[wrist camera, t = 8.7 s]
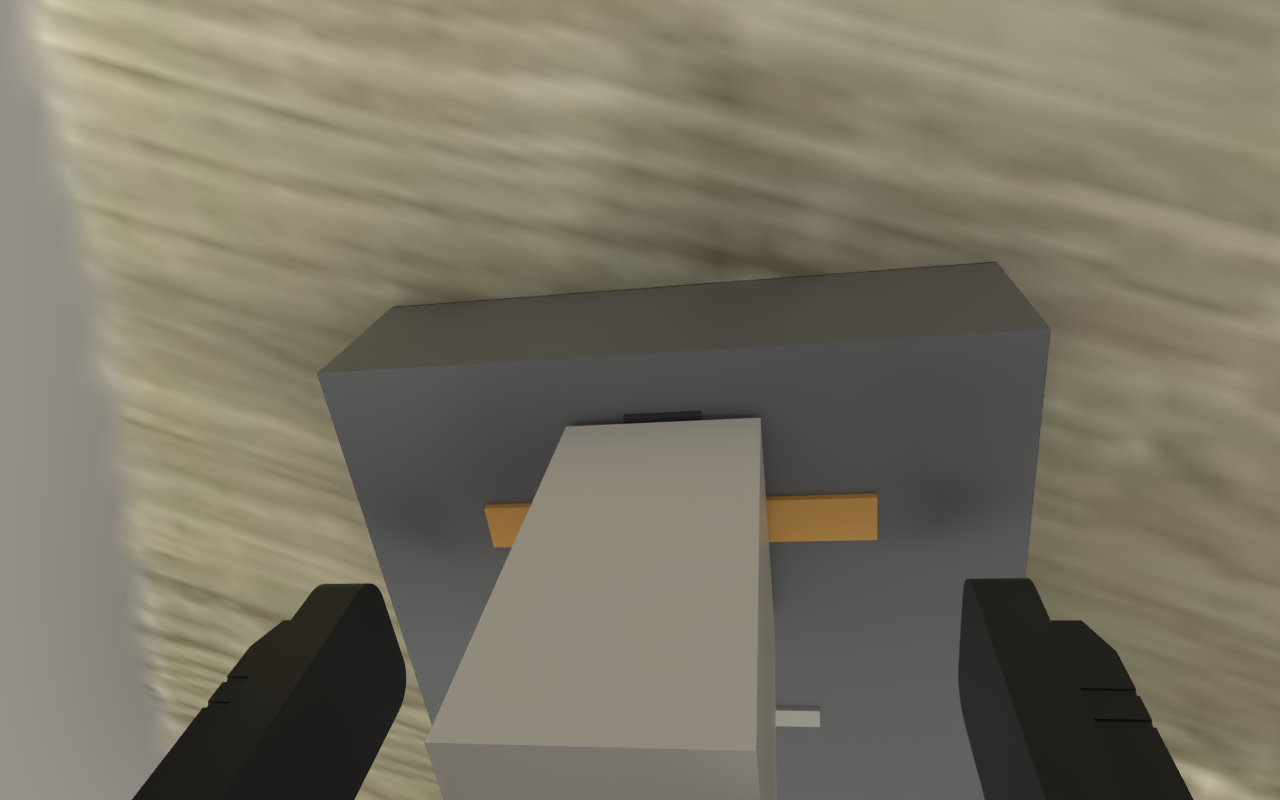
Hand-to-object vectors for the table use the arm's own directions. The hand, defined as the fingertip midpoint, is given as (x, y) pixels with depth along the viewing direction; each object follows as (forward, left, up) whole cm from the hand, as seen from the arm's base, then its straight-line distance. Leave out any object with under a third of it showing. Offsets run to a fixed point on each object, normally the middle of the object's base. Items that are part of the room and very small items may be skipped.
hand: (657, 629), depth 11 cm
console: (0, +7, -6) cm, 9 cm away
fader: (0, 0, -2) cm, 2 cm away
